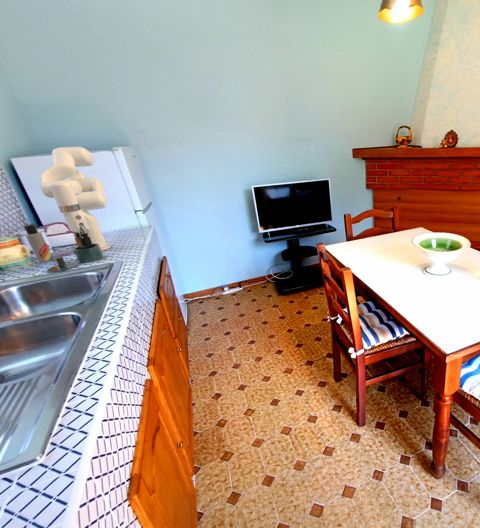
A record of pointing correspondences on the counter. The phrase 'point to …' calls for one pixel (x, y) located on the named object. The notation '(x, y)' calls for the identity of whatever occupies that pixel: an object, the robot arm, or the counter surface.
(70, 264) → the lid
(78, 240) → the block
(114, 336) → the counter surface
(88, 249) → the pot
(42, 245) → the lotion bottle
